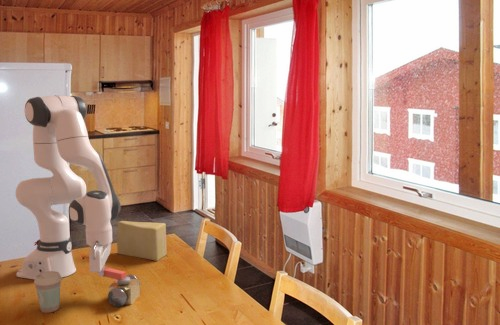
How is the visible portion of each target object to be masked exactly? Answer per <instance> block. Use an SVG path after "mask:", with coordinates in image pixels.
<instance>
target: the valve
mask: <svg viewBox="0 0 500 325" xmlns="http://www.w3.org/2000/svg"><path fill="white" fill-rule="evenodd" d="M126 277H130V283H129V284H125V285H120V284H118V282H117V279H114V281H113V282H112V283H111V284H110V285H109V286H108V295H107V301H108V303H109V304H110V305H111V306H112V307H115V308H120V307H123V306H124V305H127V306H128V305H129V306H130V305H133V304H134V303H135V301H136V300H137V299H138V298H139V297H140V295H141V290H140V286H141V282H140V279H139V278H138V276H136V275H133V274H128V275H127V274H126Z"/></svg>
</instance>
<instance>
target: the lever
mask: <svg viewBox="0 0 500 325" xmlns="http://www.w3.org/2000/svg"><path fill="white" fill-rule="evenodd" d="M126 276H127V272H126V271H123V270H119V269H114V268H111V267H108V266H105V268H104V275H103V276H102V277H103V278H104V277H106V278H110V279H114V280H116V279H117V282H118V284H120V285H125V284H129V283H130V277H126Z"/></svg>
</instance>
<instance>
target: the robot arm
mask: <svg viewBox="0 0 500 325" xmlns="http://www.w3.org/2000/svg"><path fill="white" fill-rule="evenodd" d="M87 109H88V108H87V105H86V102H85V101H84V99H83V98H82V97H81V96H76V95H70V96H69V95H60V94H59V95H50V96H35V97H32V98H29V99H28V100H27V101H26V102H25V106H24V115H25V119H26V121H27V122H28V123H29V124H30V125H31V126H33V127H32V128H33V129H32V146H33V158H34V164H36V165H37V166H38V167H40V168H42V169H45V170H47V171H50V172H51V173H52V176H49V177H37V178H34V177H33V178H29V179H25V180H22V181H20V182H19V183H18V184H17V186H16V189H15V197H16V200H17V202H18V203H19V204H20V205H21V206H23V207H24V208H27V209H28V210H29V211H30V212H31V213H32V214H33V216H34V217H35V218H36V220H37V221H36V222H37V226H38V231H39V239H38V240H36V241H35V242H34V244H33V245H34V246H36V248H35V249H34V250H33V251H32V252H30V253H29V254H28V255H27V256H25V257H24V260H23V261H22V268H20V269H19V270H18V271H16V278H17V277H18V278H24V279H29V280H33V281H34V280H35V277H36V275H38V274H40V273H42V272H47V271H56V272H59V274H60V276H61V278H62V279H63V278H65V277H68V276H71V275H72V274H74V273H75V272H76V271H77V268H76V265H75V262H74V257H73V254H72V249H73V248H72V247H73V246H72V237H71V234H70V221H71V222H72V223H73V224H75V225H77V226H83V225H84V226H85V244H86V245H88V246H90V247H89V248H90V250H89V256H88V262H89V264H88V265H89V266H88V268H89V272H90V273H91V274H92V273H97V276H98V277H103V275H104V268H105V267H106V263H107V260H108V259H109V257H110V254H111V251H112V250H111V249H112V242H114V241H113V235H114V234H113V226H112V224H111V221H113V220H115V219H116V218H117V217H118V216H119V214H120V212H121V208H122V205H121V202H120V199H119V198H118V195H117V193H116V191H115V189H114V187H113V183H112V180H111V178H110V175H109V172H108V170H107V169H108V168H107V167H106V165H105V162H104V160H103V157H102V155H101V154H100V152H98V151H96V150H95V149H94V147H93V146H92V144H91V142H90V139H89V134H88V133H89V132H88V130H87V126H86V123H85V118H86V116H87ZM68 163H69V164H71V165H73V166H79V167H81V168H83V169H87V170H88V171H90V173H92V175H93V178H94V180H95V183H96V186H97V189H98V190H90V191H87V190H88V189H87V184H86V182H85V180H84V179H83V178H82V177H81V176H80V175H77V174H76V173H75V172H74V171H73V170H72V168H70V165H69V164H68ZM65 204H69V205H68V217H69V218H68V217H67V215H66V214H63V213H61V212H58V211H55V210H54V209H52V208H51V207H52V206H55V205H56V206H57V205H65Z"/></svg>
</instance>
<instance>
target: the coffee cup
mask: <svg viewBox="0 0 500 325" xmlns="http://www.w3.org/2000/svg"><path fill="white" fill-rule="evenodd" d="M62 279H63V277H62V278H61V276H60V274H59V272H56V271H47V272H42V273H40V274H38V275H36V277H35V280H34V279H33V281H34V282H33V284H34V285H35V289H36V294H37V299H38V303H39V309H40V311H41V313H47V314H49V313H54V312H56V311H57V310H59V309H60V300H61V299H60V298H61V282H62Z"/></svg>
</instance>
